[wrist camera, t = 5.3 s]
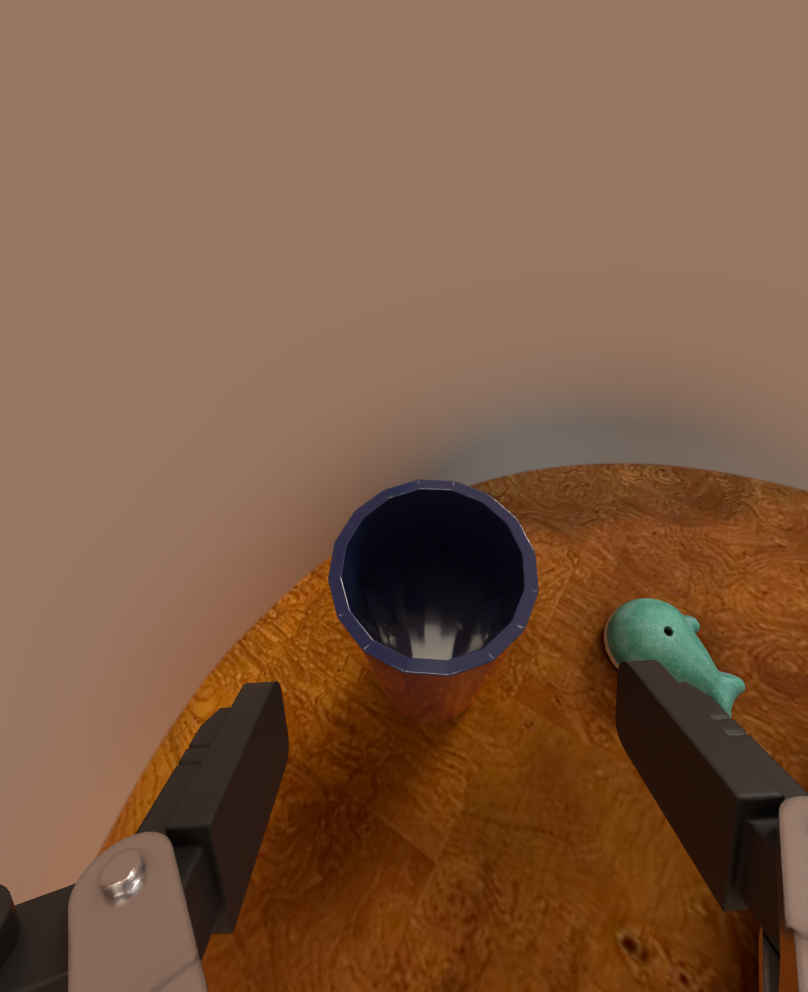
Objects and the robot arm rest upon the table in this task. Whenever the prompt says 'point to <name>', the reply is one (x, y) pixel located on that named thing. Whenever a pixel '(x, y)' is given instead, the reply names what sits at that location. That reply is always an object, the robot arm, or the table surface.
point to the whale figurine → (668, 647)
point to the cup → (433, 592)
